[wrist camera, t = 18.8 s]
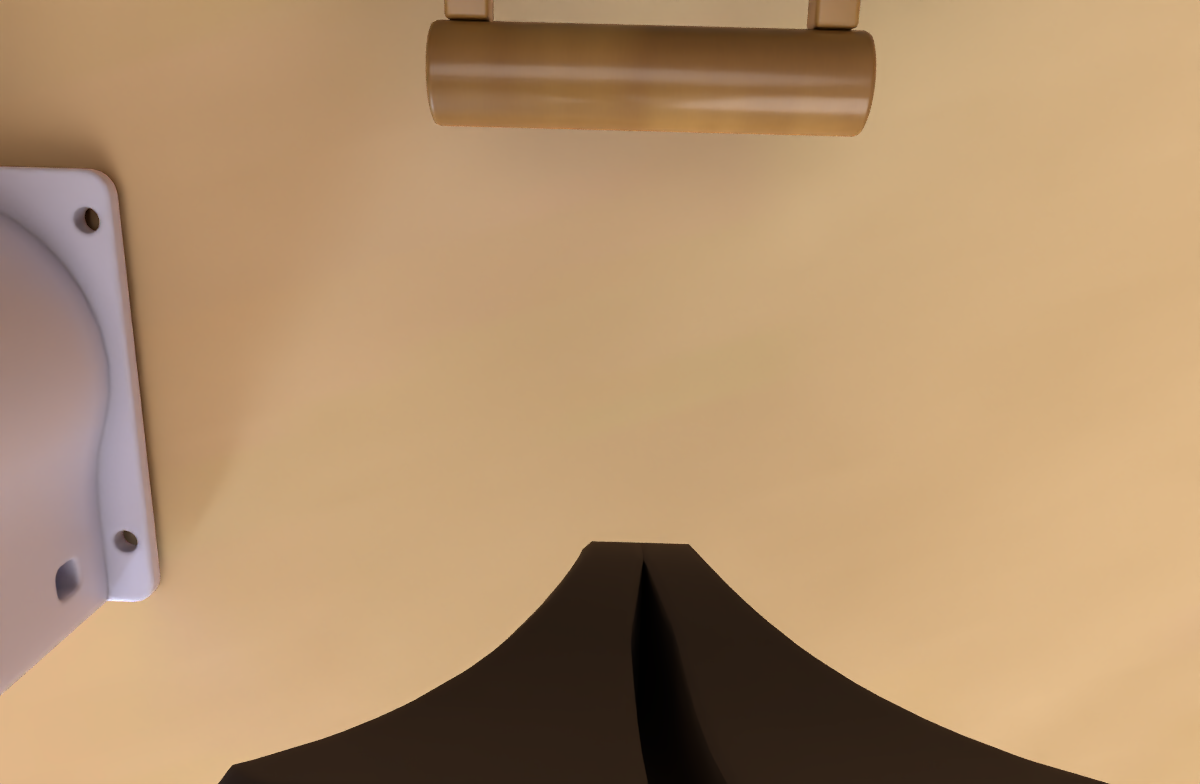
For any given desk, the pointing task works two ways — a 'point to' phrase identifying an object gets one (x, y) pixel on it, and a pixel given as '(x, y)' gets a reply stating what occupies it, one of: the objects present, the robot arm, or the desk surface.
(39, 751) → the desk surface
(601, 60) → the drawer
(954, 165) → the desk surface
